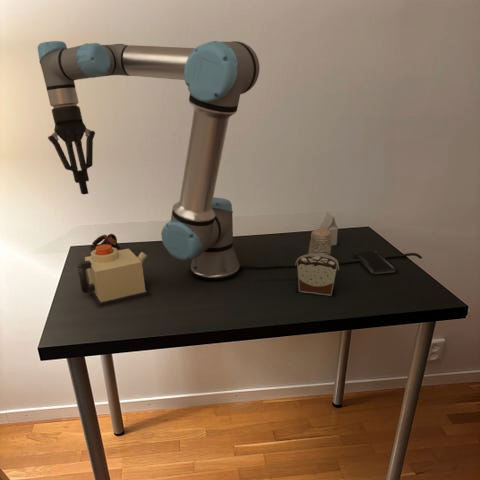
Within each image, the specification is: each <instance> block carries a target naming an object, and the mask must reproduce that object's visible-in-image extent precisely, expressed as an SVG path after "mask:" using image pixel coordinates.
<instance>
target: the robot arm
mask: <svg viewBox="0 0 480 480" xmlns="http://www.w3.org/2000/svg"><path fill="white" fill-rule="evenodd" d="M37 54H38V59H39V64H40V69H41V72H42V76H43V80H44V83H45V88H46V92H47V96H48V101H49V105H50V107H53V108H52V109H51V113H52V118H53V122H54V123H53V124H54V130H53V131H54V132H52V134H51V135H48V136H47V140H48V141H49V142H50V143H51V144H52V145H53V147H54V149H55V151H56V153H57V155H58V156H59V159H60V161H61V163H62V166H63V167H64V169H65V170H66V171H71V172H72V175H73V180H74V182H75V183H76V184H78V186H79V191H80V194H81V195H88V194H89V189H88V183H87V182H89V180H90V178H89V173H88V169H89V168H91V167H93V158H94V157H93V155H94V154H93V152H94V151H93V149H94V137H95V136H96V132H95V130H91V129H89V128H87V126H86V125H85V123H84V120H83V117H82V112H81V107H80V106H78V104H79V103H80V102H79V97H78V93H77V88H76V83H75V81H78V80H84V79H94V78H103V77H109V76H111V77H112V76H125V77H141V78H142V77H143V78H153V79H165V80H166V79H168V80H179V81H184V82H185V85H186V86H187V90H188V92H189V97H188V101H189V104H190V105H191V107H192V108H193V113H192V114H193V115H192V120H191V125H190V133H189V138H188V145H187V152H186V157H185V158H186V159H185V163H184V171H183V177H182V183H181V188H180V194H179V195H180V196H179V200H178V201H177V202H175V203H174V204H173V205H172V210H171V217H170V220H169V221H168V222H167V223H165V224H164V226H163V228H162V230H161V233H160V234H161V235H160V236H161V237H160V238H161V242H162V244H163V246H164V248H165V249H166V250H167V252H168V254H170V256H172V257H173V258H175V259H177V260H179V261H182V262H189V261H191V262H190V271H191V275H192V276H193V277H194V278H196V279H198V280H202V281H207V282H208V281H210V282H218V281H225V280H229V279H232V278H233V277H236V276H237V275H239V273H240V271H241V269H240V268H252V269H272V268H297V265H296V266H295V264H296V263H281V264H280V263H279V264H247V263H240V261H239V260H238V259H239V258H238V257H237V254H236V252H235V248H234V224H233V222H234V221H233V214H234V212H233V205H232V202H231V201H230V200H228V199H227V198H223V197H215V196H214V195H215V191H216V185H217V180H218V175H219V170H220V167H221V166H220V165H221V161H222V155H223V152H224V151H223V149H224V146H225V140H226V134H227V131H228V125H229V121H230V117H232V116H233V115H235V114H236V113H237V111H238V107H239V103H240V97H241V95H243V94H246V93H247V92H249V91H250V90H251V89H252V88H253V87H255V84H256V83H257V81H258V79H259V75H260V61H259V57H258V54H257V53H256V51H255V50H254V49H253V48H252V47H251V46H250V45H248V44H247V43H244V42H242V41H235V40H234V41H218V40H212V41H208V42H205V43H202V44H199V45H198V46H197V47H179V46H157V45H155V46H154V45H137V44H135V45H134V44H130V45H129V44H124V43H114V44H101V43H98V42H91V43H84V44H82V45H77V46H73V47H67V44H66V42H64V41H61V40H53V41H52V40H51V41H43V42H40V43H39V44H38V45H37ZM84 135H85V137H86V141H85V142H86V143H85V144H86V145H85V146H86V147H85V148H86V149H85V153H84V149H83V142H82V139H83V138H84ZM59 138H60V139H61V141H63V142H64V144H65V146H66V151H67V155H68V158H67V157H66V155H65V153H64V150H63V148H62V146H61V144H60V142H59ZM73 143H74V145H75V150H76V155H77V158H78V163H79V167H80V170H79V169H78V164H77V160H76V156H75V151H74V147H73V146H74V145H73ZM382 256H383V257H384V258H385V259H391V258H405V257H411V256H413V257H416V258H418V259H421V260H422V259H423V257H422V255H420V253H416V252H408V253H397V254H396V253H395V254H387V255H382ZM337 261H338V264H339V265H344V264H353V263H359V262H360V261H361V259H357V258H356V259H347V260H337ZM360 263H361V262H360Z"/></svg>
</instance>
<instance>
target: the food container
mask: <svg viewBox="0 0 480 480" xmlns="http://www.w3.org/2000/svg"><path fill="white" fill-rule="evenodd" d="M338 261H339V260H337V259H336V258H335V257H333V256H332V255H330V256H329V255H325V254H308V253H307V254H303V255H301V256H299V257H297V259H296V261H295V263H294V264H295V266H296V265H297V267H296V269H297V282H298V292H300V293H306V294H314V295H323V296H328V297H329V296H330V297H332V294H333V290H334V285H335V281H336V274H337V270H338V271H340V264H338Z"/></svg>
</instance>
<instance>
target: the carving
mask: <svg viewBox="0 0 480 480" xmlns="http://www.w3.org/2000/svg"><path fill="white" fill-rule="evenodd" d="M331 243H332V235H331V232H330V231H329V230H326V229H321V228H316V229H314V230H313V231H311V233H310V240H309V247H308V253H307V254H325V255H329V256H331V254H332V245H331Z"/></svg>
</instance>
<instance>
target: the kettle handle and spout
mask: <svg viewBox="0 0 480 480" xmlns="http://www.w3.org/2000/svg"><path fill="white" fill-rule="evenodd" d="M136 257H137V258H138V259H139V260H140V261H141V262H142V265H143V264H144V263H145V261H146V260H147V258H148V257H149V256H148V255H147V254H146V253H145V252H143V251H141V252H140V253H139V254H138V256H136ZM76 268H77V269H76V270H77V273H78V278H79V283H80V289H81V292H82V293H83V294H88V293H90V294H91V295H92V296H93V298H94V299H95V302H97V304H98V306H99V307H104V306H108V305H112V304H117V303H121V302H124V301H128V300H132V299H137V298H142V297H145V296H148V295H149V291H148V290H147V289H146V288H145V291H146V292H142V293H138V294H134V295H129V296H125V297H121V298H117V299H113V300H108V301H104V302H100V300H99V299H98V297H97V296H96V294H95V293H94V291H95V286H94V284H93V283H92V284H90V283H89V282H88V281H89V280H88V275H87V272H86V271H87V269H89V268H91V262H90V261H85V260H84V261H79V263H78V264H77V265H76Z"/></svg>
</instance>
